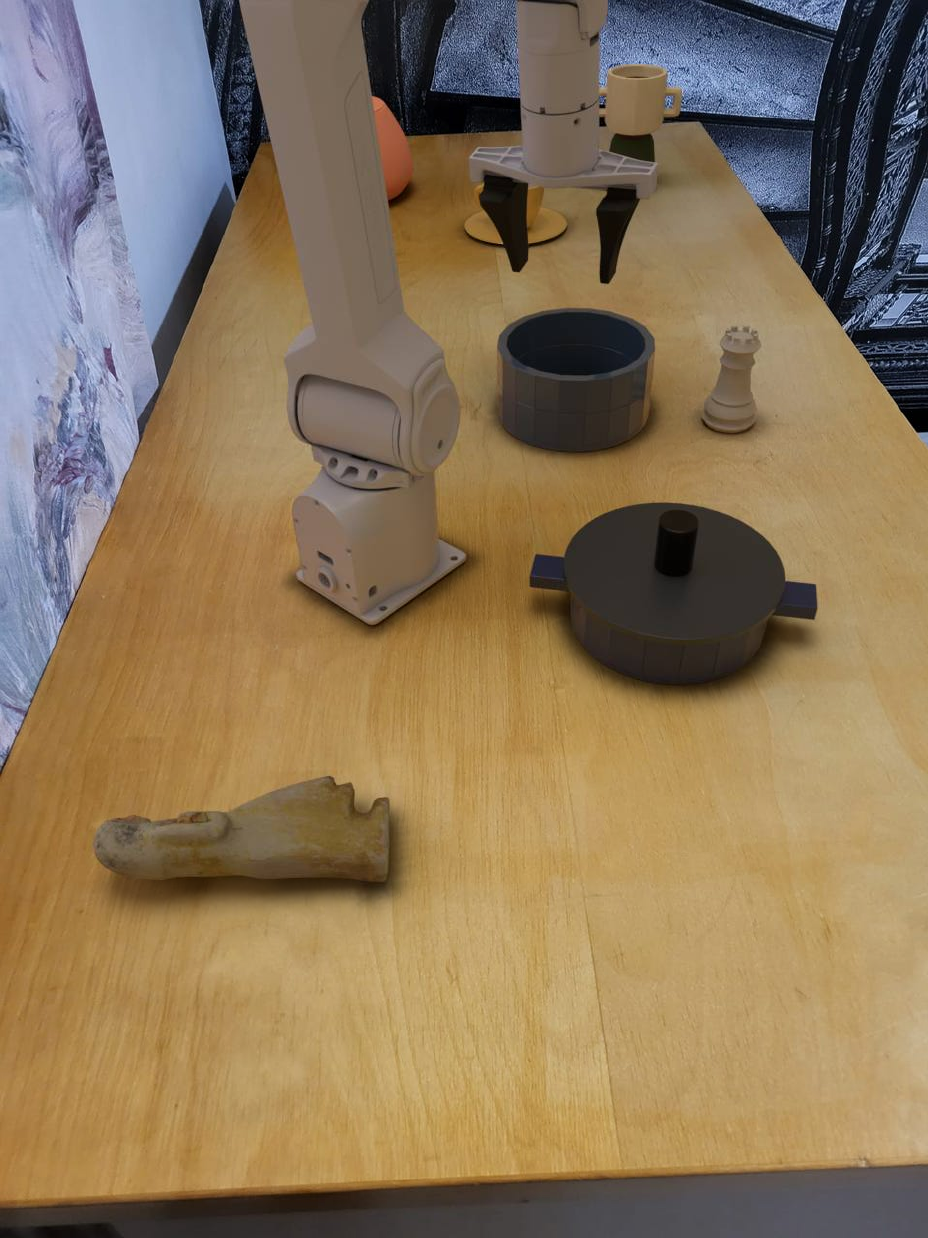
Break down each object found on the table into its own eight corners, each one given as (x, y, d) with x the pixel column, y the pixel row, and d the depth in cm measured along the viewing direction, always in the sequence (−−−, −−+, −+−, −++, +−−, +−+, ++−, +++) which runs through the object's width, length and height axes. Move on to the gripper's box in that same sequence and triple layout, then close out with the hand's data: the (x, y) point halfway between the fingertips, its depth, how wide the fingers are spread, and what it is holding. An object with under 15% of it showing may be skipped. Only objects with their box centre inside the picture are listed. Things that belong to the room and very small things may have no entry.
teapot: (300, 166, 137) (286, 66, 129) (410, 159, 138) (403, 59, 130) (294, 226, 121) (278, 115, 113) (419, 217, 122) (412, 107, 113)
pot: (586, 470, 80) (591, 397, 76) (467, 417, 86) (465, 347, 82) (677, 406, 87) (685, 335, 82) (560, 361, 93) (562, 294, 89)
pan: (810, 703, 60) (823, 656, 58) (515, 665, 64) (515, 619, 61) (804, 572, 69) (815, 527, 67) (546, 545, 73) (547, 500, 70)
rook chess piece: (716, 402, 87) (730, 314, 82) (764, 417, 85) (781, 329, 79) (690, 423, 84) (702, 335, 79) (739, 440, 82) (754, 350, 77)
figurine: (389, 763, 55) (104, 762, 53) (395, 810, 50) (79, 810, 48) (385, 848, 56) (107, 850, 54) (390, 902, 51) (84, 906, 49)
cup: (574, 211, 121) (576, 165, 118) (556, 250, 113) (558, 201, 109) (478, 206, 124) (476, 160, 120) (453, 244, 115) (451, 195, 112)
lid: (784, 666, 58) (799, 606, 55) (547, 637, 61) (549, 578, 58) (781, 526, 68) (793, 468, 65) (578, 505, 71) (581, 449, 68)
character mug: (672, 174, 130) (683, 62, 121) (673, 194, 125) (685, 78, 116) (587, 174, 131) (592, 63, 122) (585, 193, 126) (590, 78, 117)
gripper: (672, 83, 73) (662, 257, 83) (488, 71, 78) (499, 238, 88) (645, 123, 69) (638, 302, 79) (451, 109, 74) (468, 279, 84)
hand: (563, 271), depth 83 cm, fingers open, 7 cm apart
